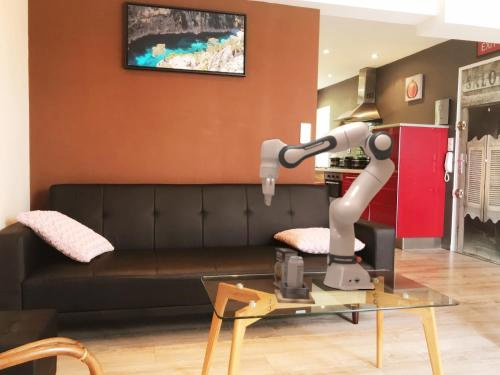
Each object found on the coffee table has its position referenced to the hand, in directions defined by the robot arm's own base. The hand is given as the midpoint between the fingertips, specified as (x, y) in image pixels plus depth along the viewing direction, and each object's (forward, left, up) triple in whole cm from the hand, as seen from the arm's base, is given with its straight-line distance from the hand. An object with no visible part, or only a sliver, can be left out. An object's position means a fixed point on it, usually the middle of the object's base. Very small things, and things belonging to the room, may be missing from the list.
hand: (267, 204), depth 196 cm
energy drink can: (-10, +28, -33) cm, 45 cm away
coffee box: (-8, +12, -34) cm, 37 cm away
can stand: (-10, +28, -34) cm, 45 cm away
